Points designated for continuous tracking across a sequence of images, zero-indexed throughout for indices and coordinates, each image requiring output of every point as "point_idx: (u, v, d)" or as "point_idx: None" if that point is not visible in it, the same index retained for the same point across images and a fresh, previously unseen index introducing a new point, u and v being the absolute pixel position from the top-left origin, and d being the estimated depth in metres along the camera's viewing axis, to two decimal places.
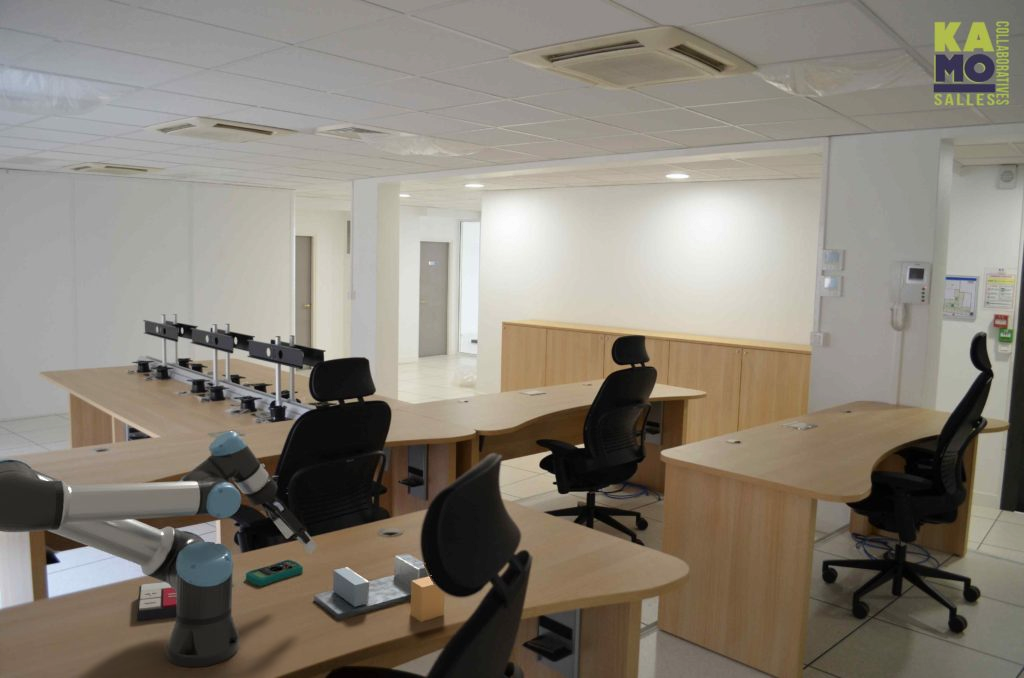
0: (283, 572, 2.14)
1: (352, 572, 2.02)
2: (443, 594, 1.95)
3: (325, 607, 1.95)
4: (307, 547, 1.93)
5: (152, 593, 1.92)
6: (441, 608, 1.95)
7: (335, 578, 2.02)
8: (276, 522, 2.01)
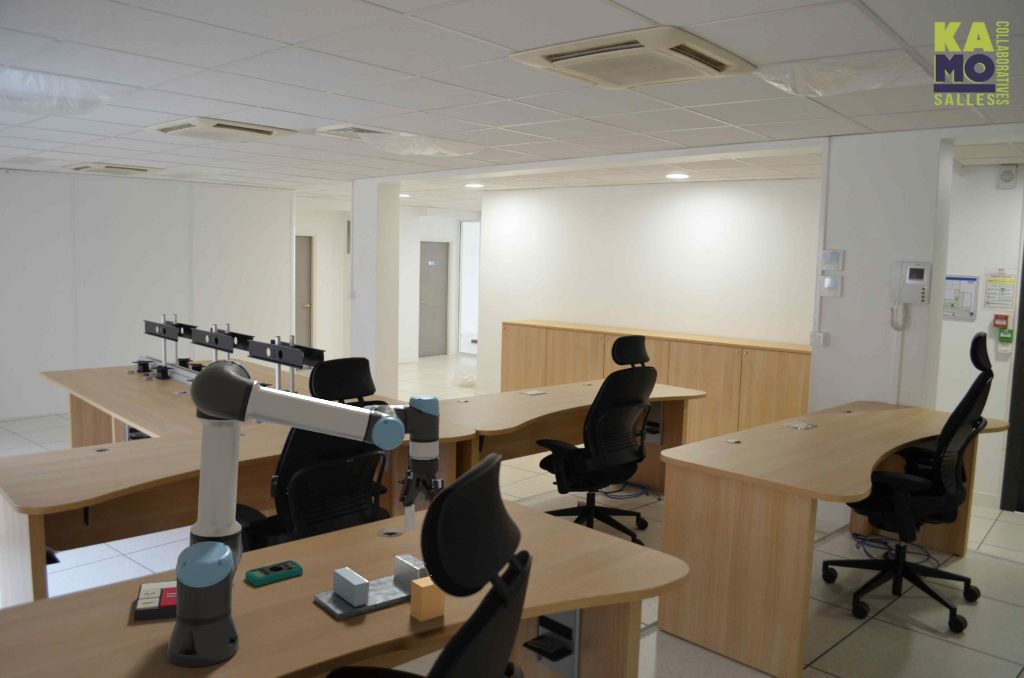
0: (281, 572, 2.13)
1: (352, 572, 2.02)
2: (443, 594, 1.95)
3: (325, 607, 1.95)
4: None
5: (151, 593, 1.92)
6: (441, 608, 1.95)
7: (335, 578, 2.02)
8: (407, 509, 1.99)
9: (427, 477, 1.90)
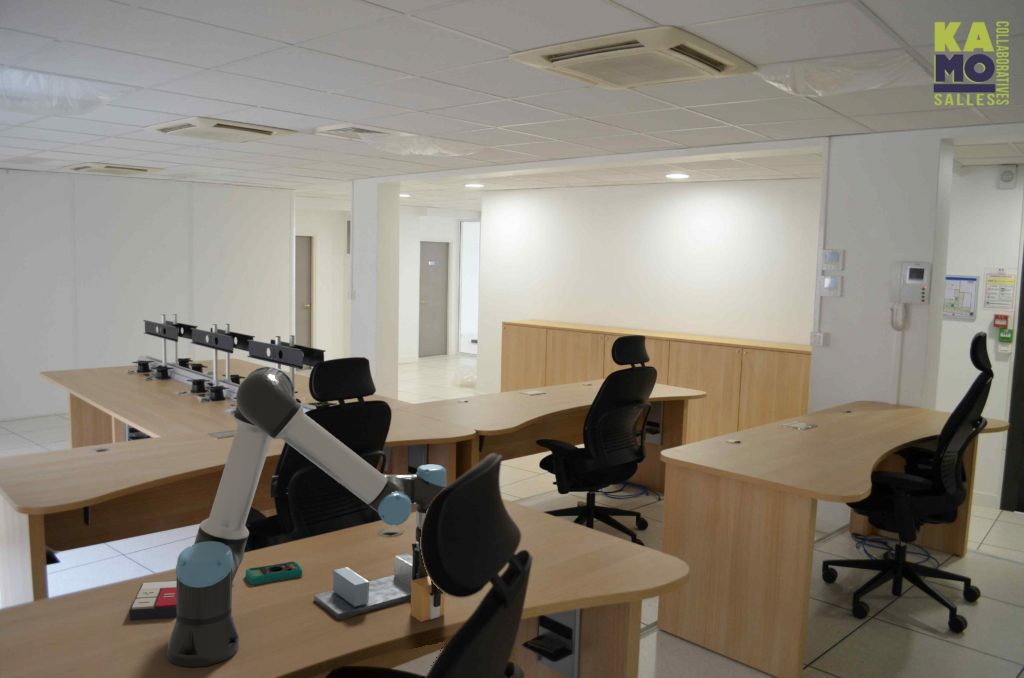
0: (279, 573, 2.13)
1: (352, 572, 2.02)
2: (443, 594, 1.95)
3: (325, 607, 1.95)
4: (432, 611, 1.92)
5: (149, 592, 1.93)
6: (441, 608, 1.95)
7: (335, 578, 2.02)
8: None
9: None
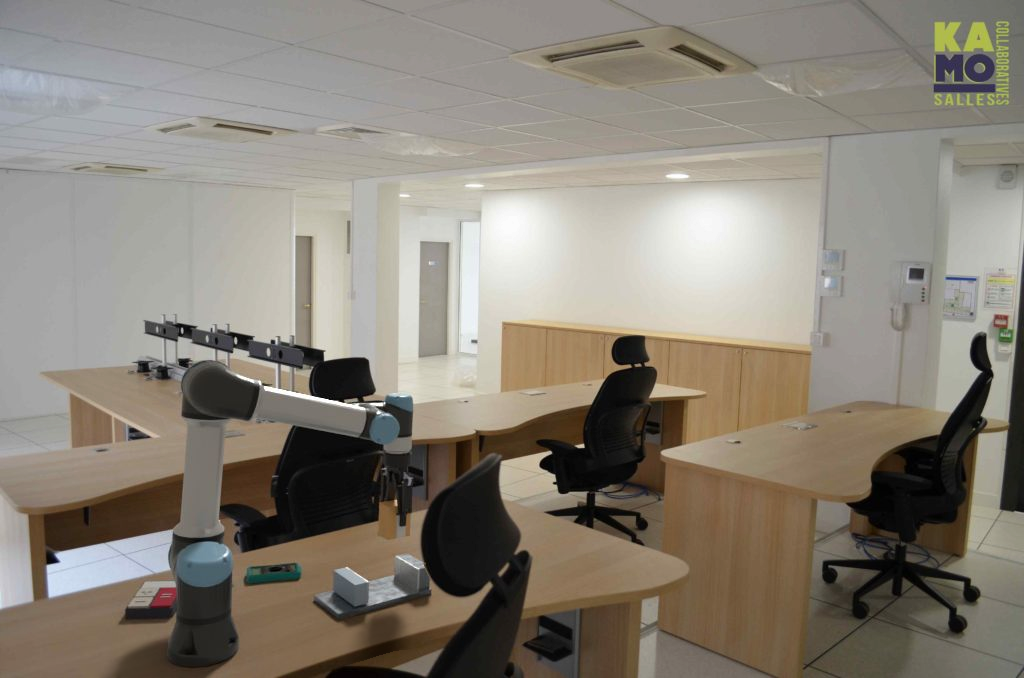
0: (276, 573, 2.12)
1: (352, 572, 2.02)
2: (409, 515, 2.07)
3: (325, 607, 1.95)
4: (398, 531, 2.04)
5: (148, 591, 1.93)
6: (408, 529, 2.07)
7: (335, 578, 2.02)
8: None
9: (400, 471, 2.02)
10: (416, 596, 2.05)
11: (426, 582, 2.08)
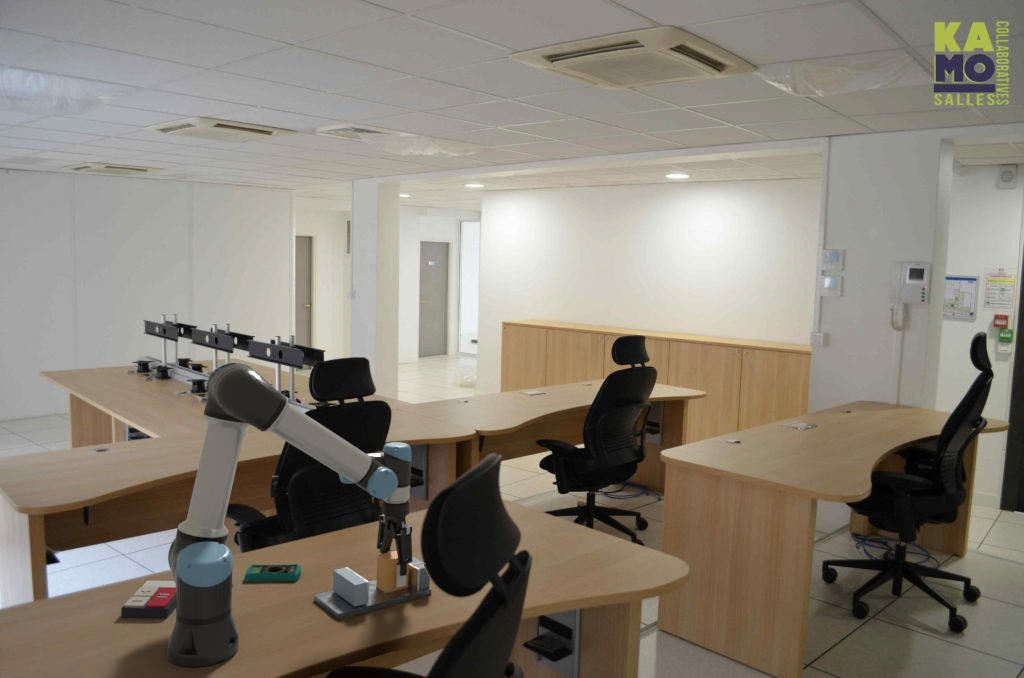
0: (273, 574, 2.12)
1: (352, 572, 2.02)
2: (407, 567, 2.08)
3: (325, 607, 1.95)
4: (399, 580, 2.04)
5: (147, 591, 1.93)
6: (406, 581, 2.08)
7: (335, 578, 2.02)
8: None
9: (398, 520, 2.04)
10: (416, 596, 2.05)
11: (426, 582, 2.08)
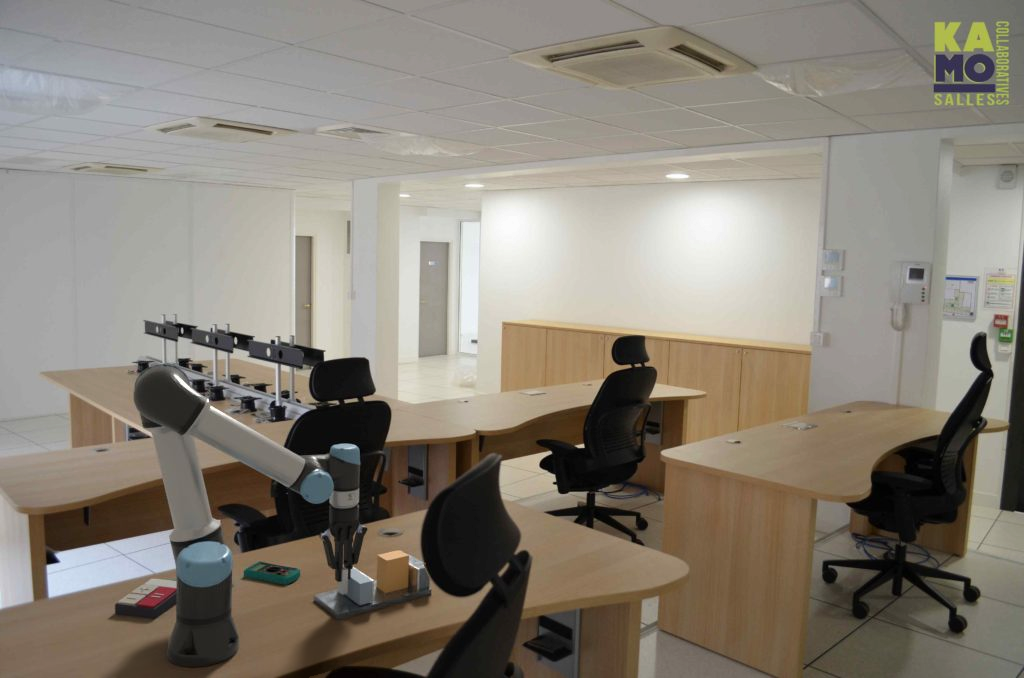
0: (266, 574, 2.12)
1: (357, 571, 2.03)
2: (407, 567, 2.08)
3: (325, 607, 1.95)
4: (338, 584, 1.98)
5: (145, 589, 1.95)
6: (406, 581, 2.08)
7: None
8: None
9: None
10: (416, 596, 2.05)
11: (426, 582, 2.08)
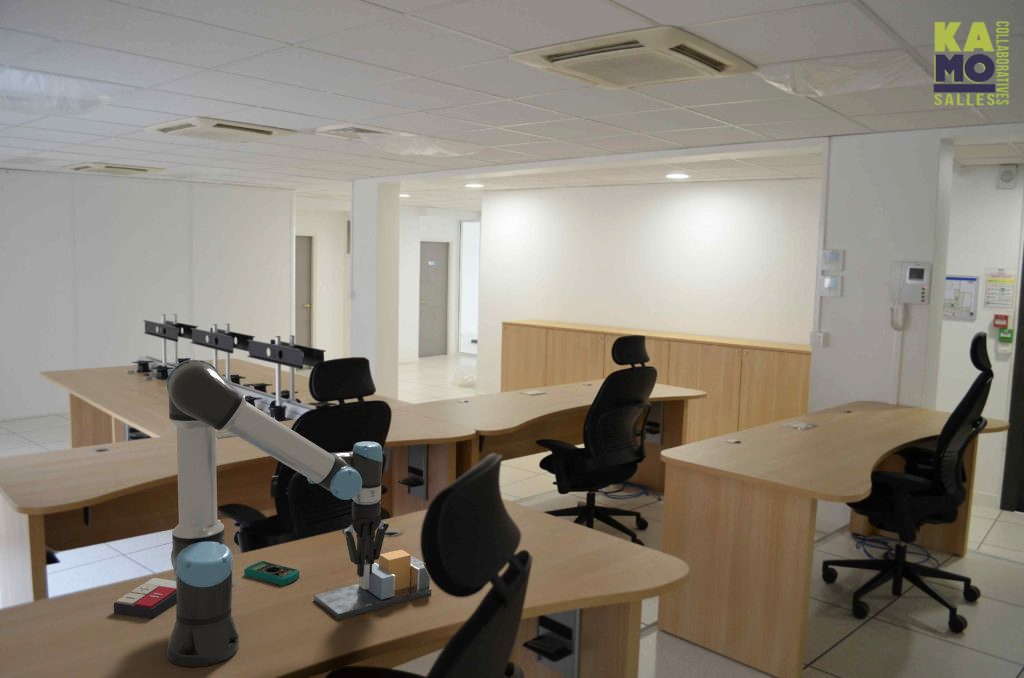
0: (265, 573, 2.12)
1: (378, 566, 2.07)
2: (409, 567, 2.08)
3: (325, 607, 1.95)
4: (360, 579, 2.02)
5: (145, 588, 1.95)
6: (408, 580, 2.08)
7: None
8: None
9: None
10: (416, 596, 2.05)
11: (426, 582, 2.08)
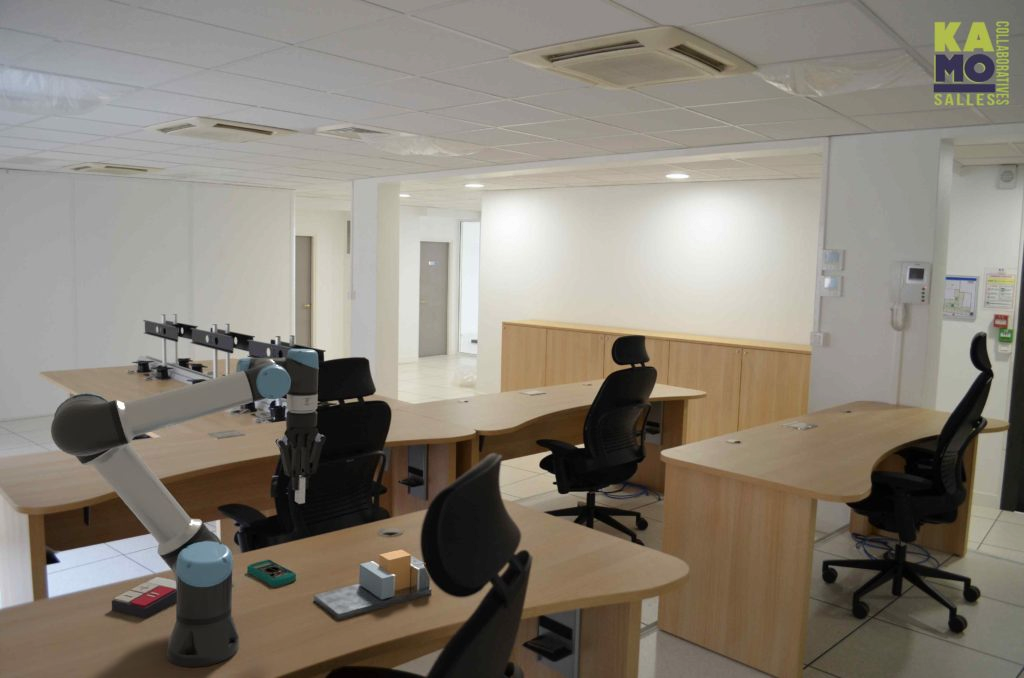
0: (262, 573, 2.12)
1: (378, 566, 2.07)
2: (409, 567, 2.08)
3: (325, 607, 1.95)
4: (295, 494, 1.92)
5: (145, 587, 1.96)
6: (408, 580, 2.08)
7: (362, 571, 2.07)
8: None
9: None
10: (416, 596, 2.05)
11: (426, 582, 2.08)
